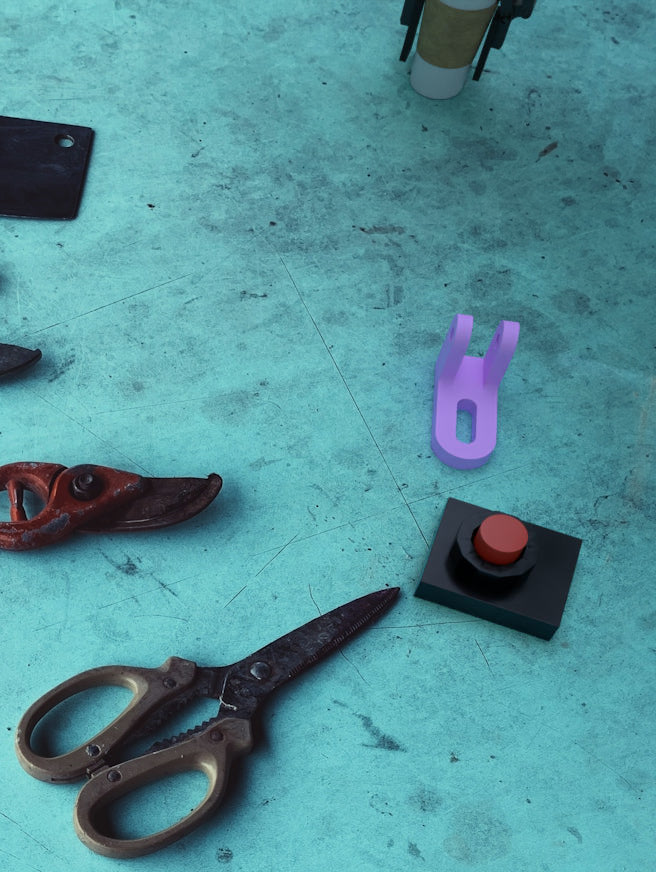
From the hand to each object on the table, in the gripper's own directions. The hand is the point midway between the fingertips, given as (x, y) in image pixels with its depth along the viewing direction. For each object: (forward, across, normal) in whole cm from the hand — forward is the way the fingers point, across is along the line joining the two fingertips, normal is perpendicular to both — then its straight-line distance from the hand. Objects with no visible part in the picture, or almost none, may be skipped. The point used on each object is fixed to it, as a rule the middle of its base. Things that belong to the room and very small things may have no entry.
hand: (441, 63), depth 133 cm
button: (-1, -21, +65) cm, 68 cm away
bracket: (+2, -15, +48) cm, 50 cm away
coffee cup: (+2, 0, 0) cm, 2 cm away
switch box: (+2, -22, +65) cm, 69 cm away
